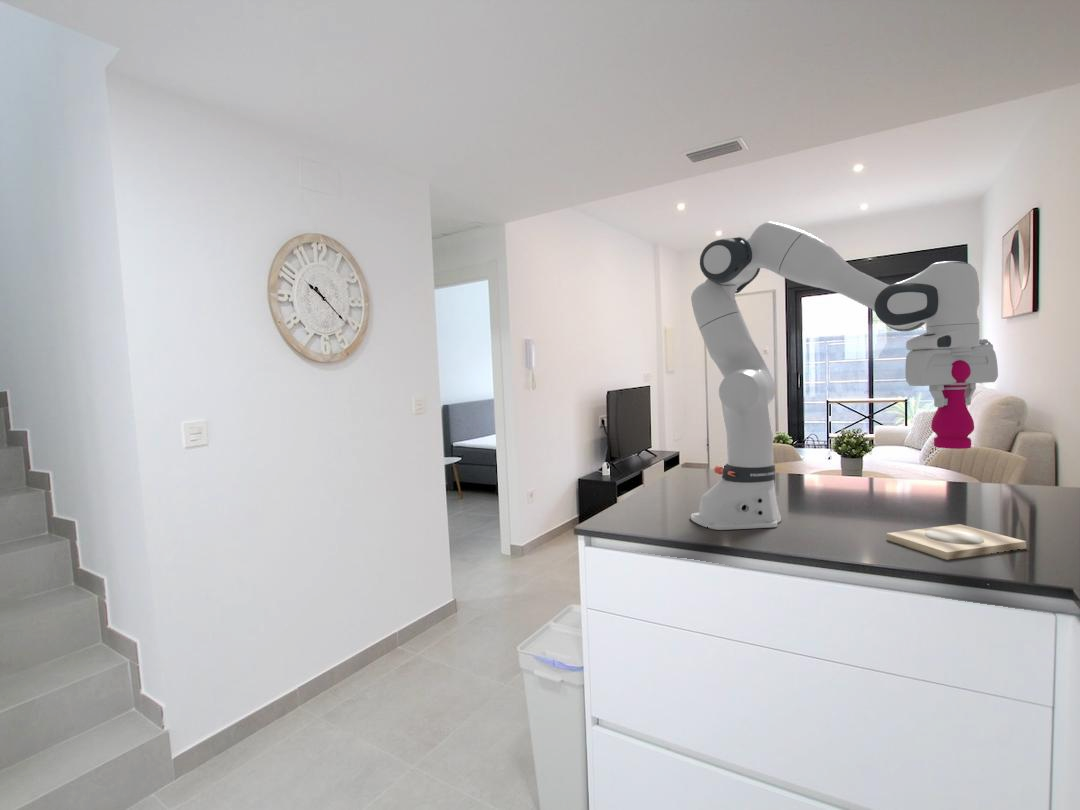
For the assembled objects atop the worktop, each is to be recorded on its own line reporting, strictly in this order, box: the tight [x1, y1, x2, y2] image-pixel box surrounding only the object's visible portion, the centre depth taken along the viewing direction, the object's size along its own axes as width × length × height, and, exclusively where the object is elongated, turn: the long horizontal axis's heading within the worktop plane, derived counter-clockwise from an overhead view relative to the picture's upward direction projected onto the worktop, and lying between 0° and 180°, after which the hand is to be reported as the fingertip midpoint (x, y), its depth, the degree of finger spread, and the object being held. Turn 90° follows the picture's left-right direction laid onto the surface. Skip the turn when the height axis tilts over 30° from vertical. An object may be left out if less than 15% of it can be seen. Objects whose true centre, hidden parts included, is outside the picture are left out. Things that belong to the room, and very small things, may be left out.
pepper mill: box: [930, 360, 975, 450], centre depth 115 cm, size 7×7×20 cm
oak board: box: [886, 523, 1027, 561], centre depth 116 cm, size 20×14×2 cm
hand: (952, 406), depth 115 cm, fingers closed on pepper mill, 5 cm apart
